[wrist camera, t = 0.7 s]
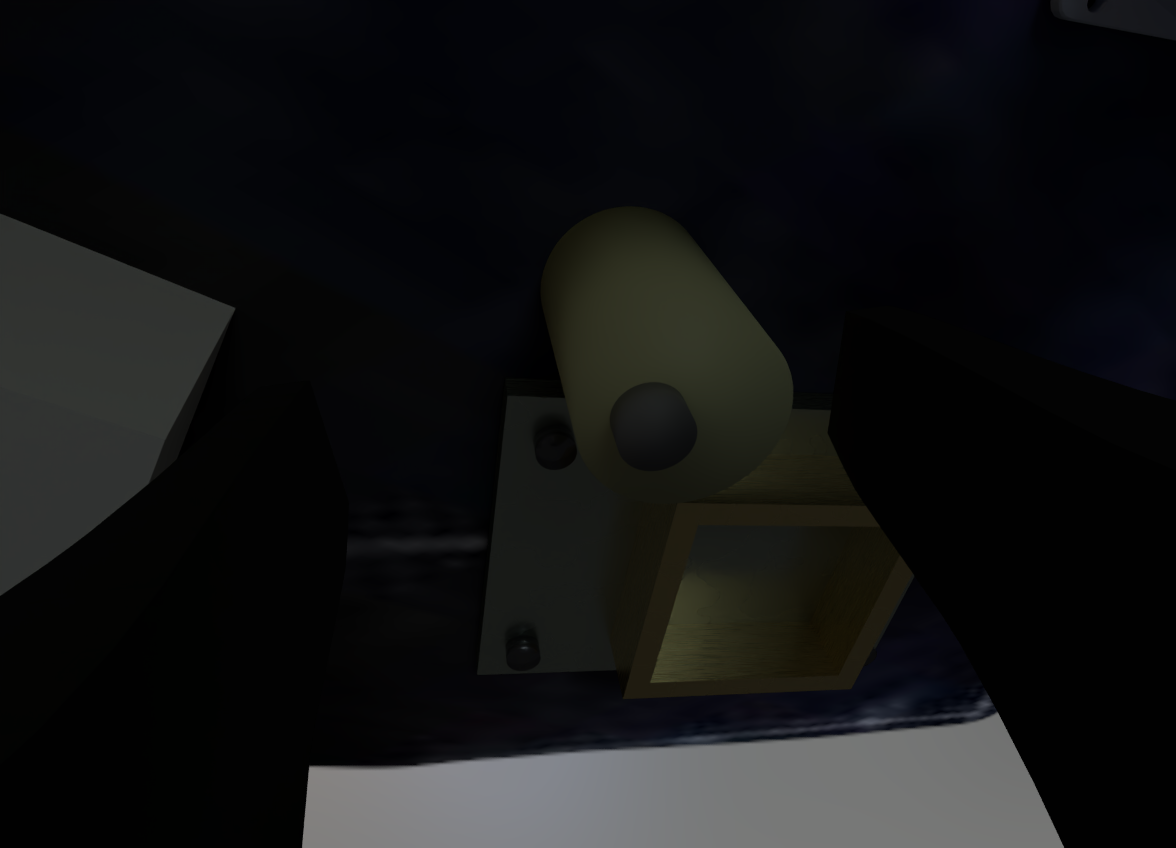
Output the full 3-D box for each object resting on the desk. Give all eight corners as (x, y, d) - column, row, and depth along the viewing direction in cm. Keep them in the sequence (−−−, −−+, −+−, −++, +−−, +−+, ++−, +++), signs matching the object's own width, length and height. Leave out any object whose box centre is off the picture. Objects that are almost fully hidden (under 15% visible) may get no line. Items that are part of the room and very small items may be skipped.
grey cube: (172, 473, 22) (91, 637, 17) (-75, 398, 19) (-252, 563, 14) (237, 305, 19) (164, 440, 14) (-38, 195, 17) (-238, 311, 12)
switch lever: (721, 215, 20) (841, 343, 14) (683, 365, 22) (771, 528, 16) (551, 197, 19) (601, 327, 13) (531, 357, 21) (565, 527, 15)
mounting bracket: (980, 401, 25) (1050, 464, 22) (857, 642, 31) (899, 714, 29) (505, 377, 22) (514, 447, 19) (476, 652, 28) (479, 736, 25)
